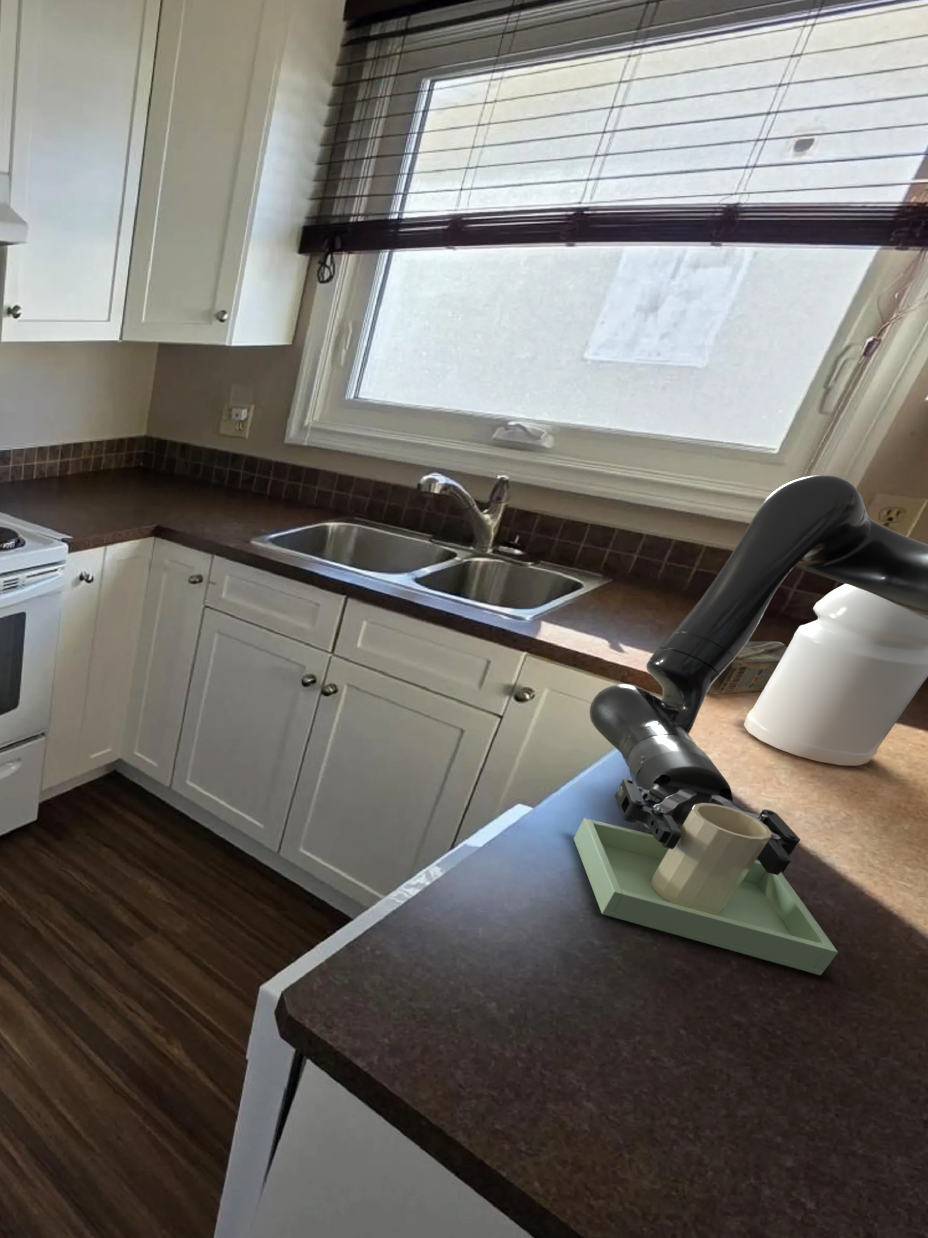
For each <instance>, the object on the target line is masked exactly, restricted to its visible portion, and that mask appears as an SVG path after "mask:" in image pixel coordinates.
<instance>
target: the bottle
mask: <svg viewBox="0 0 928 1238" xmlns="http://www.w3.org/2000/svg"><path fill="white" fill-rule="evenodd" d="M812 610H813V612H814V613H815V615H816V616H817V619H816V620H813V621H810V622H808V623H805V624H801V625H799V626H798V628H797V629H796V630H795V632H794V634H793V636H792V638H791V641H790V643H789V644H788V646H787V650H786V651H785V653H784V655H783V657H782V659H781V660H780V662H779V664H778V666H777V667H776V669H775V671H774V672H773V674H772V676H771V678H770V679H769V681H768V683H767V685H766V686H765V688H764V690H763V691H761V693H760V695H759V697H758V699H757V701H756V702H755V704H754V706H753V708H752V709H750V710H749V711H748V713H747V715H746V717H745V720H744V723H743V727H744V728H745V729H746V732H748V733H749V734H750V735H752V736H753V737H755V738H756V739H758V740H759V741H761V742H763V743H765V744H767V745H769V746H771V747H773V748H776V749H777V750H778V749H779V750H781V751H783V752H786V753H789V754H792V755H795V756H797V757H800V758H801V757H802V758H803V759H804V758H805V759H807V760H812V761H816V762H819V763H824V764H825V763H826V764H831V765H837V766H851V767H852V766H854V767H855V766H856V767H858V766H861V765H865V764H867V763H869V762H870V761H871V760H872V759H873V758H874V757H875V756H876V755H877V753H878V749H879V748H880V746H881V745H882V743H883V742H884V740H885V739H886V737H887V736H888V735H889V733H890V731H891V730H892V729H893V728H894V726H895V725H896V723H897V722H898V720H899V719H900V717H901V716H902V714H903V713H904V711H905V710H906V708H907V707H908V705H909V704H910V703H911V701H912V700H913V698H914V697H915V695H916V694H917V693H918V691H919V689H920V688H921V686H922V685H923V683H924V682H925V681H926V680H927V678H928V620H927V619H925V618H923V617H921V616H918V615H916V614H914V613H912V612H910V611H907V610H905V609H903V608H901V607H899V606H897V605H895V604H893V603H891V602H889V601H887V600H885V599H883V598H881V597H879V596H877V595H874V594H872V593H869V592H867V591H864V590H862V589H859V588H856V587H853V586H850V585H847V584H844V583H843V584H842V585H840V586H838V587H836V588H835V589H833V590H831V591H830V592H828V593H827V594H825V595H824V596H823V597H822V598H821V599H820V600H818V601H817V602H815V604H814V606H813V608H812Z"/></svg>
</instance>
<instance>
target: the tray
mask: <svg viewBox="0 0 928 1238" xmlns="http://www.w3.org/2000/svg"><path fill="white" fill-rule="evenodd" d="M573 842H574V843H575V846H576V849H577V851H578V854H579V857H580V859H581V863H582V865H583V868H584V870H585V873H586V876H587V877H588V881H589V883H590V886H591V888H592V892H593V894H594V896H595V900H596V902H597V904H598V907H599V911H600V913H601V915H604V916H606V917H611V918H614V919H618V920H622V921H625V922H628V923H632V924H636V925H639V926H642V927H647V928H650V929H654V930H658V931H659V932H660V931H661V932H663V933H668V934H671V935H675V936H678V937H682V938H686V939H689V940H693V941H696V942H699V943H703V944H708V945H710V946H714V947H718V948H722V949H725V950H729V951H732V952H735V953H739V954H742V955H747V956H749V957H753V958H757V959H760V960H764V961H768V962H772V963H775V964H778V965H782V966H786V967H789V968H793V969H796V970H800V971H802V972H803V971H804V972H808V973H811V974H814V975H817V976H822V974H823V973H824V971H826V970H827V968H828V967H829V965H830V964H831V963H832V962H833V960H834V959H835V957H836V956H837V955H838V954H839V951H838V950H837V949H836V947H835V946H834V944H833V943H832V941H831V940H830V938H829V937H828V936H827V934H826V933H825V932H824V930H823V929H822V928H821V926H820V924H819V923H818V922H817V921H816V919H815V918H814V917H813V915H812V914H811V912H810V911H809V909H808V907H807V906H806V905H805V904H804V903H803V901H802V900H801V898H800V897H799V895H798V894H797V893H796V891H795V890H794V888H793V887H792V886H791V884H790V883H789V881H788V880H787V879H786V877H785V876H784V875H783V872H780V874H779V875H775V874H771V873H767V872H766V870H765V869H764V867H763V866H762V864H761V863H760V862H759V860H758V859H756V860H755V862H754V864H753V865H752V867H751V868H750V870H749V871H748V873H747V874H746V876H745V877H744V879H743V881H742V882H741V884H740V885H739V887H738V888H737V890H736V891H735V893H734V894H733V896H732V897H731V899H730V901H729V902H728V904H727V905H726V907H724V909H723V910H722V912H721V913H719V914H715V915H713V914H709V913H706V912H702V911H698V910H695V909H691V908H687V907H683V906H680V905H676V904H673V903H671V902H669V901H667V900H666V899H664V898H663V897H661V896H660V895H659V894H658V893H657V892H656V891H655V890H654V889H653V888H652V886H651V884H650V881H651V879H652V877H653V875H654V873H655V871H656V870H657V868H658V866H659V865H660V863H661V861H662V859H663V858H664V856H665V854H666V853H667V851H668V849H669V848H664V847H663V846H662V844H661V842H658V841H657V840H656V839H655V838H654V835H653V834H652V833H647V832H643V831H640V830H634V829H630V828H627V827H623V826H619V825H615V824H612V823H611V824H610V823H606V822H602V821H598V820H594V819H589V818H586V817H584V818H583V819H582V822H580V825H579V827H578V829H577V830H576V833H575V835H574V837H573Z"/></svg>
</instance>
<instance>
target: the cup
mask: <svg viewBox="0 0 928 1238" xmlns="http://www.w3.org/2000/svg"><path fill="white" fill-rule="evenodd" d="M679 830H680V831H681V837H680V839H679V841H678V842H677V844H676V846H675V848H674V849H668V851H667V853H666V854H665V856H664V858H663V859H662V861H661V863H660V865H659V866H658V868H657V870H656V871H655V873H654V875H653V877H652V879H651V881H650V884H651V886H652V888H653V889H654V890H655V891H656V892H657V893H658V894H659V895H660V896H661V897H663V898H664V899H666V900H667V901H669V902H671V903H673V904H676V905H680V906H683V907H687V908H691V909H695V910H698V911H702V912H706V913H709V914H713V915H715V914H719V913H721V912H722V910H723V909H724V907H726V905H727V904H728V902H729V901H730V899H731V897H732V896H733V894H734V893H735V891H736V890H737V888H738V887H739V885H740V884H741V882H742V881H743V879H744V877H745V876H746V874H747V873H748V871H749V870H750V868H751V867H752V865H753V864H754V862H755V860H758V859H757V857H758V856H759V854H760V853H761V851H762V850H763V848H764V847H765V845H766V844H767V842H768V840H769V839H770V837H771V834H772V832H771V831H770V829H769V828H768V827H767V826H766V825H765V824H763V823H762V822H760V821H759V820H758V819H756V818H754V817H752V816H750V815H748V814H746V813H743V812H741V811H738V810H735V809H732V808H730V807H726V806H722V805H717V804H711V803H699V804H695V805H694V806H693V808H692V809H691V811H690V813H689V815H688V816H687V818H686V820H685V821H684V823H683V825H681V827H680V828H679Z"/></svg>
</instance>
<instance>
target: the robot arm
mask: <svg viewBox="0 0 928 1238" xmlns="http://www.w3.org/2000/svg"><path fill="white" fill-rule="evenodd" d="M794 568H796V569H799V570H802V571H804V572H808V573H811V574H814V575H817V576H820V577H824V578H826V579H829V580H833V581H836V582H839V583H842V584H843V585H844V584H847V585H850V586H853V587H856V588H859V589H862V590H864V591H867V592H869V593H872V594H874V595H877V596H879V597H881V598H883V599H885V600H887V601H889V602H891V603H893V604H895V605H897V606H899V607H901V608H903V609H905V610H907V611H910V612H912V613H914V614H916V615H918V616H921V617H923V618H925V619H927V620H928V543H924V542H921V541H919V540H917V539H913V538H911V537H909V536H906V535H904V534H903V533H902V534H901V533H899V532H898V531H895V530H892V529H890V528H888V527H886V526H884V525H883V524H880V523H878V522H877V521H875V520H873V519H872V518H871V517H870V516H869V515H868V512H867V509H866V505H865V502H864V499H863V496H862V495H861V493H860V491H858V489H857V488H856V486H855V485H854V484H852V483H851V482H850V481H848V480H846V479H844V478H842V477H838V476H834V475H827V474H825V475H824V474H819V475H817V474H816V475H809V476H803V477H800V478H797V479H794V480H792V481H789V482H787V483H785V484H783V485H781V486H780V487H778V488H776V489H775V490H774V491H773V492H771V493H770V495H768V496H767V497H766V498H765V500H764V501H763V502H762V503H761V505H760V506H759V508H758V509H757V511H756V513H755V514H754V516H753V518H752V519H751V521H750V522H749V525H748V526H747V527H746V530H745V532H744V533H743V535H742V537H741V539H740V540H739V541H738V543H737V545H736V546H735V548H734V550H733V551H732V553H731V554H730V556H729V557H728V559H727V560H726V562H725V563H724V565H723V567H722V568H721V569H720V570H719V572H718V574H717V575H716V577H715V578H714V579H713V581H712V582H711V583H710V585H709V586H708V588H707V589H706V591H705V592H704V593H703V595H702V596H701V597H700V598H699V600H698V601H697V603H696V604H695V605H694V606H693V607H692V608H691V610H690V611H689V612H688V614H687V615H686V616H685V617H684V618H683V619H682V620H681V622H680V623H679V624H678V625H677V626H676V628H675V629H674V630H673V631H672V632H671V633H670V635H669V636H667V638H666V639H665V640H664V642H663V643H661V645H660V646H659V647H658V648H657V649H656V651H654V653H653V654H652V655H651V656H650V658H649V659H648V661H647V662H646V670H647V672H648V673H649V674H650V675H651V677H652V678H653V679H654V680H655V681H656V682H657V683H658V684H659V686H660V687H661V689H662V694H661V699H660V698H659V697H657V696H656V695H654V694H652V693H651V692H649V691H647V690H646V689H644V688H642V687H640V686H638V685H636V684H631V683H618V684H617V683H616V684H613V685H609V686H607V687H605V688H603V689H602V690H601V691H599V692H598V693H597V694H596V695H595V696H594V698H593V699H592V701H591V703H590V707H589V719H590V722H591V723H592V725H593V727H594V728H595V729H596V731H598V732H599V733H600V734H601V736H602V737H604V739H606V740H607V741H608V742H609V744H611V745H612V746H613V747H614V748H615V749H616V750H617V751H618V752H619V753H620V754H621V756H622V758H623V760H624V762H625V764H626V766H627V767H628V771H629V775H630V777H631V778H627V777H625V778H623V779H622V781H621V783H620V785H619V787H618V789H617V791H616V793H615V795H614V799H615V801H616V805H617V807H618V810H619V814H620V816H621V819H623V820H624V821H626V822H628V823H632V824H633V823H636V822H637V821H638V822H641V823H643V824H642V826H643V827H644V828H646V829H648V830H650V832H651V834H652V835H654V838H655V839H656V840H657V841H658V842H661V844H662V846H663V847H664V848H669V849H674V848H675V846H676V844H677V842H678V841H679V839H680V837H681V831H680V828H679V826H678V824H679V825H681V826H682V825H683V823H684V821H685V820H686V818H687V816H688V815H689V813H690V811H691V809H692V808H693V806H694V805H695V804H699V803H711V804H717V805H722V806H726V807H730V808H732V809H735V810H738V811H741V812H743V813H746V814H748V815H750V816H752V817H754V818H756V819H758V820H759V821H760V822H762V823H763V824H765V825H766V826H767V827H768V828H769V829H770V831H771V832H772V834H771V837H770V839H769V840H768V842H767V844H766V845H765V847H764V848H763V850H762V851H761V853H760V854H759V856H758V857H757V859H756V860H758V861H759V862H760V863H761V864H762V866H763V867H764V869H765V870H766V872H767V873H771V874H775V875H779V874H780V872H781V873H784V872H785V871H786V870H787V867H788V866H789V865H790V863H791V861H792V858H791V857H790V856H791V855H792V853H793V852H794V851H795V849H796V847H797V846H798V844H799V843H800V841H801V839H800V837H799V836H798V835H797V834H796V832H795V831H793V830H792V828H791V827H790V826H789V825H788V824H787V823H786V822H785V821H784V820H783V818H781V816H780V815H779V814H778V813H777V812H775V811H774V810H770V809H766V808H764V809H762V811H761V812H760V814H759V813H758V814H756V813H752V812H748V811H746V810H745V809H744V808H743V807H742V806H740V805H739V804H737V803H735V802H734V798H733V792H732V790H731V786H730V784H729V782H728V781H727V779H726V778H725V777H724V776H723V774H722V773H721V771H720V770H719V769H718V767H717V766H716V765H715V764H714V762H713V761H712V759H711V758H710V757H709V755H708V754H707V753H706V752H705V751H704V750H703V749H702V748H700V747H699V746H698V745H697V744H696V742H695V741H694V740H693V738H692V737H691V736H690V733H691V731H692V729H693V727H694V724H695V722H696V720H697V717H698V714H699V712H700V710H701V707H702V705H703V703H704V701H705V699H706V697H707V695H708V693H709V692H708V690H709V688H710V686H711V685H712V683H713V682H714V681H715V680H716V679H717V678H718V676H719V675H720V674H721V673H722V672H723V671H724V670H725V669H726V667H727V666H728V665H729V664H730V663H731V662H732V661H733V660H734V659H735V657H736V656H737V655H738V654H739V653H740V651H741V650H742V649H743V648H744V646H745V645H746V643H747V642H749V641H750V639H751V638H752V635H753V634H754V632H755V631H756V629H757V627H758V625H759V624H760V621H761V619H762V618H763V616H764V614H765V612H766V611H767V608H768V606H769V604H770V602H771V601H772V599H773V598H774V595H775V594H776V592H777V590H778V589H779V587H780V586H781V584H782V583H783V582H784V580H785V579H786V577H787V576H788V575H789V574H790V573H791V572H792V570H793V569H794Z"/></svg>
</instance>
